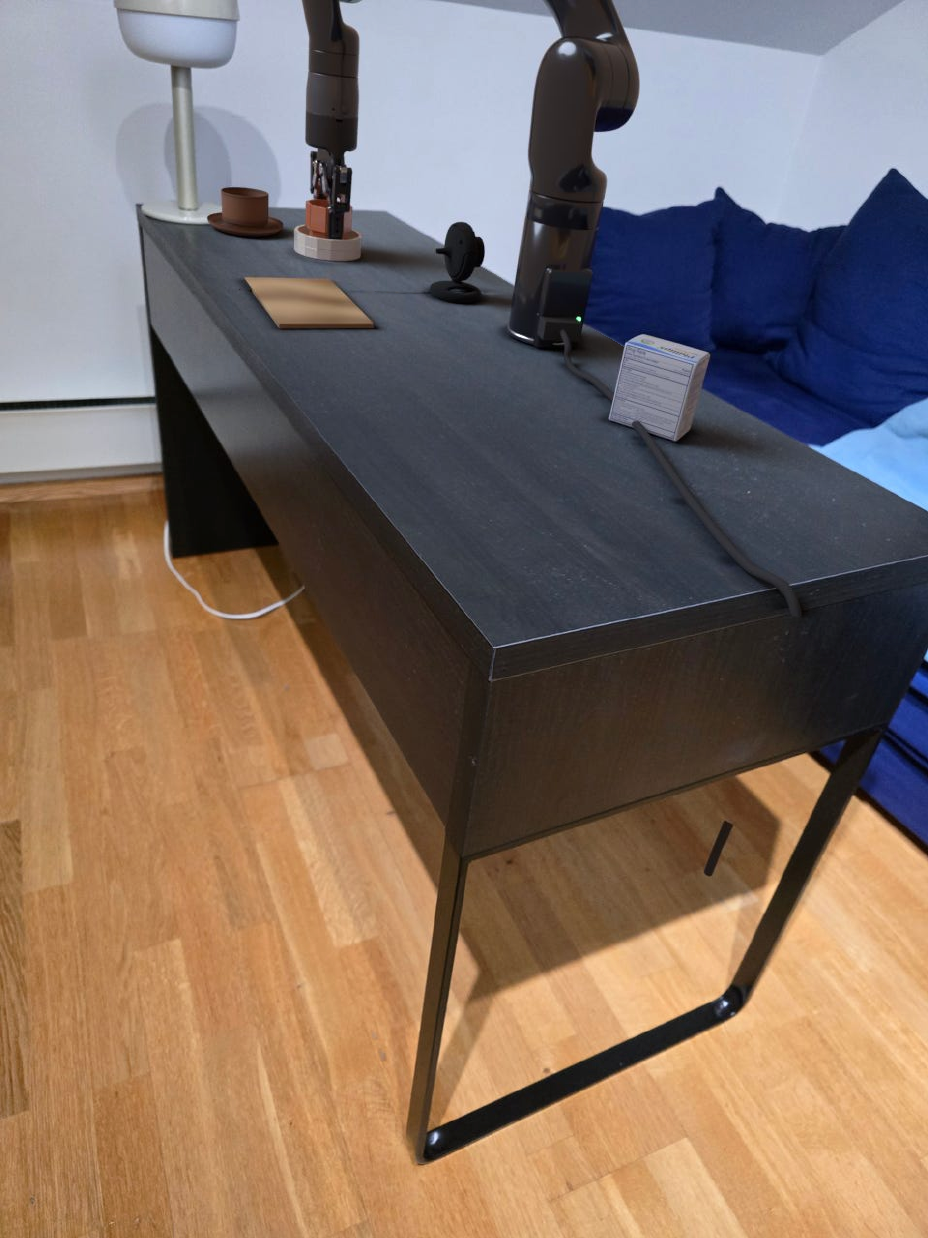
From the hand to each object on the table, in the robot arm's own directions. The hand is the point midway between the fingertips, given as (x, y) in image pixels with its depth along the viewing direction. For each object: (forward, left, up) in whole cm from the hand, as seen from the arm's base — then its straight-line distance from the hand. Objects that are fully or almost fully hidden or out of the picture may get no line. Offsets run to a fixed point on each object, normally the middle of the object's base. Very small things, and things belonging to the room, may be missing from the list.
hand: (328, 233), depth 136 cm
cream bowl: (0, 0, -3) cm, 3 cm away
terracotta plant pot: (0, 0, -3) cm, 3 cm away
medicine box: (-68, -16, -4) cm, 70 cm away
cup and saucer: (+13, +10, -4) cm, 17 cm away
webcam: (-21, -13, -4) cm, 25 cm away
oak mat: (-25, +10, -3) cm, 27 cm away
